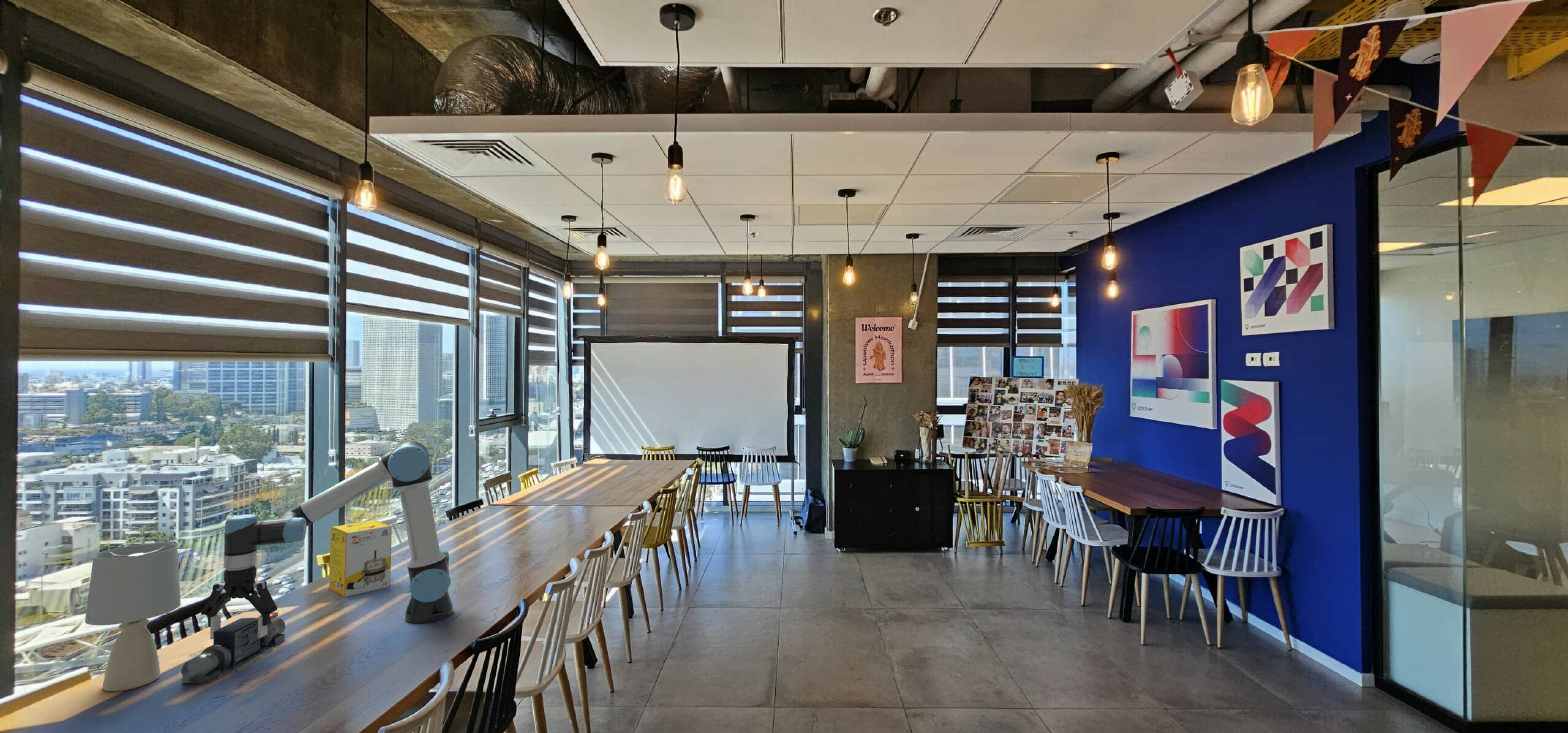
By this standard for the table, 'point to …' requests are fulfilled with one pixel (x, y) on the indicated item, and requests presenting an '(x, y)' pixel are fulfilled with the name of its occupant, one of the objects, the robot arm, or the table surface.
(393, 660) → the table surface
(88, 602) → the lamp
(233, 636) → the small box
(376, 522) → the packaging box
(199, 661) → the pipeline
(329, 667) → the table surface
